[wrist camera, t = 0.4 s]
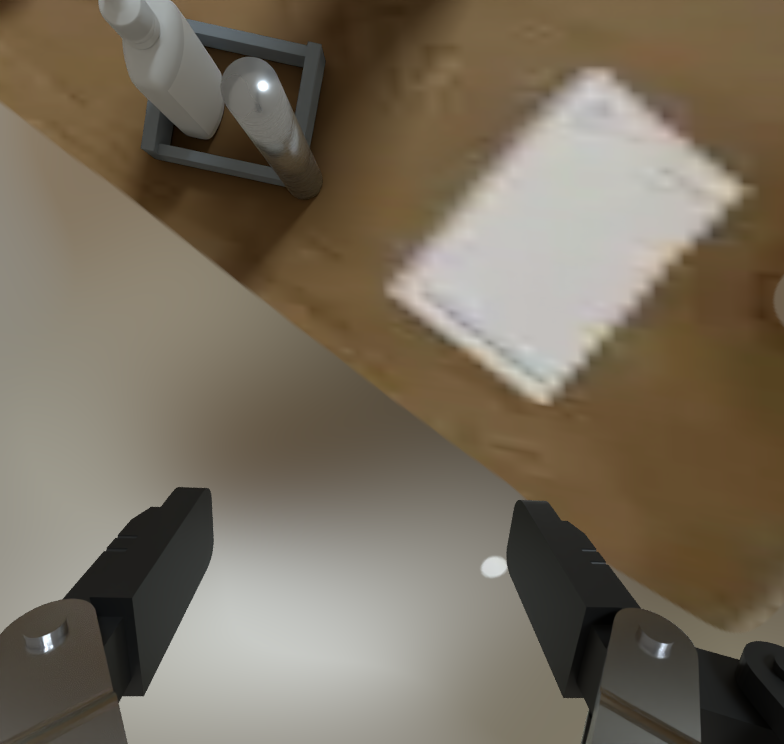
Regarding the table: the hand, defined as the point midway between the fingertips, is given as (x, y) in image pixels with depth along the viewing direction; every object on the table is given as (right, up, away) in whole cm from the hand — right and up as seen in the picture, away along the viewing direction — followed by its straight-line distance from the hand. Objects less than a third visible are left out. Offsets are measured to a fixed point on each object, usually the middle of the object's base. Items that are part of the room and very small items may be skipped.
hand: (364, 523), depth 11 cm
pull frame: (-11, +25, +23) cm, 35 cm away
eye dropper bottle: (-14, +25, +23) cm, 37 cm away
